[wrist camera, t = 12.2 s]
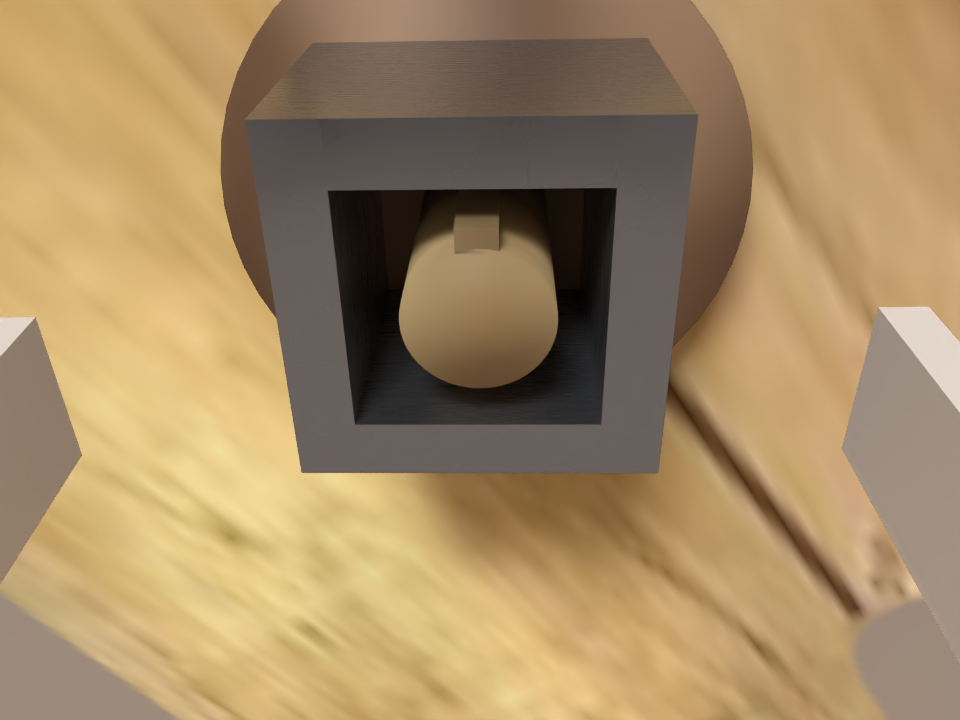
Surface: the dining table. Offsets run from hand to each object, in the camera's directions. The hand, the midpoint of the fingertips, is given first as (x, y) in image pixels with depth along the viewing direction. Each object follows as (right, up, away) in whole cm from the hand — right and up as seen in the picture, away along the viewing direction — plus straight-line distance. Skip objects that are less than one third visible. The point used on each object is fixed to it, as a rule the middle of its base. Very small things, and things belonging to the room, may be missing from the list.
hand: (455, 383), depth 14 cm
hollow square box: (0, +4, +7) cm, 9 cm away
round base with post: (+1, +5, +9) cm, 11 cm away
